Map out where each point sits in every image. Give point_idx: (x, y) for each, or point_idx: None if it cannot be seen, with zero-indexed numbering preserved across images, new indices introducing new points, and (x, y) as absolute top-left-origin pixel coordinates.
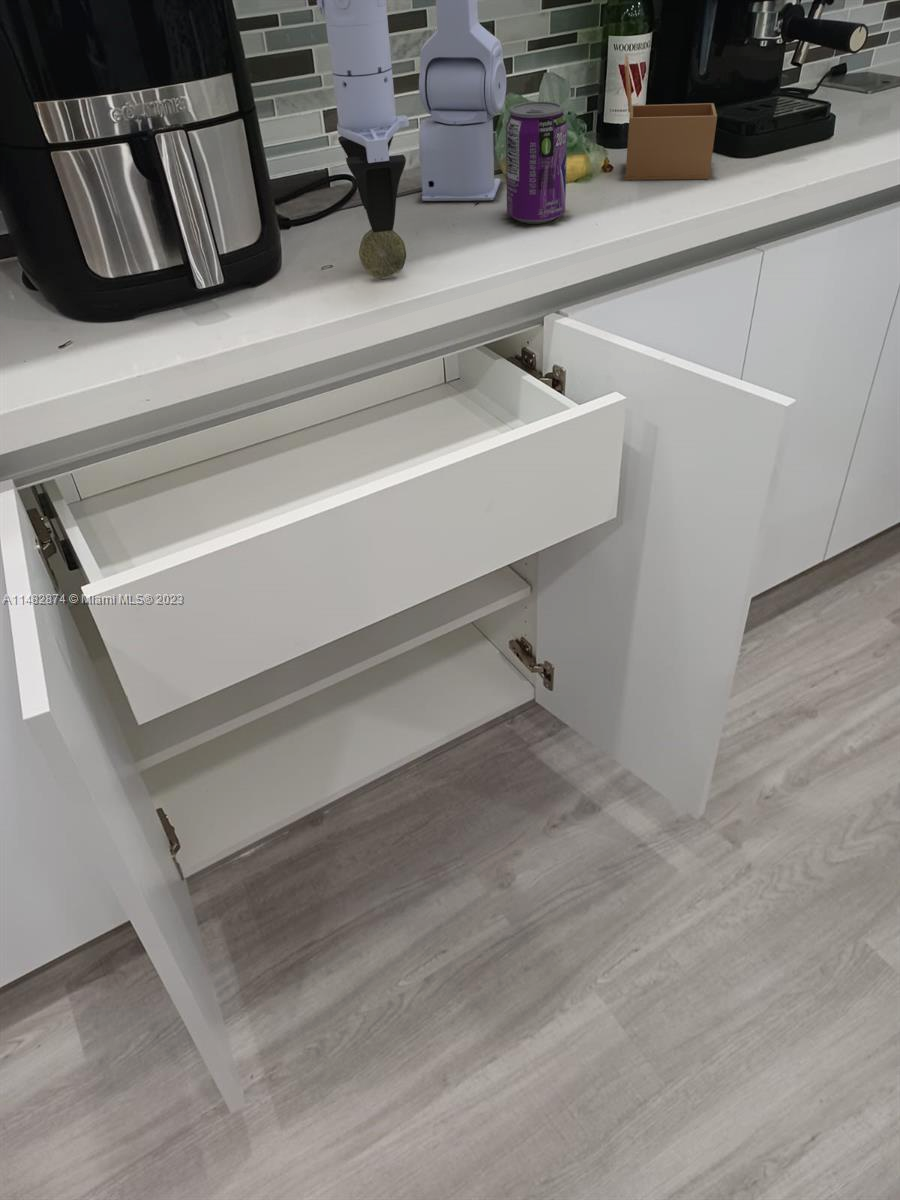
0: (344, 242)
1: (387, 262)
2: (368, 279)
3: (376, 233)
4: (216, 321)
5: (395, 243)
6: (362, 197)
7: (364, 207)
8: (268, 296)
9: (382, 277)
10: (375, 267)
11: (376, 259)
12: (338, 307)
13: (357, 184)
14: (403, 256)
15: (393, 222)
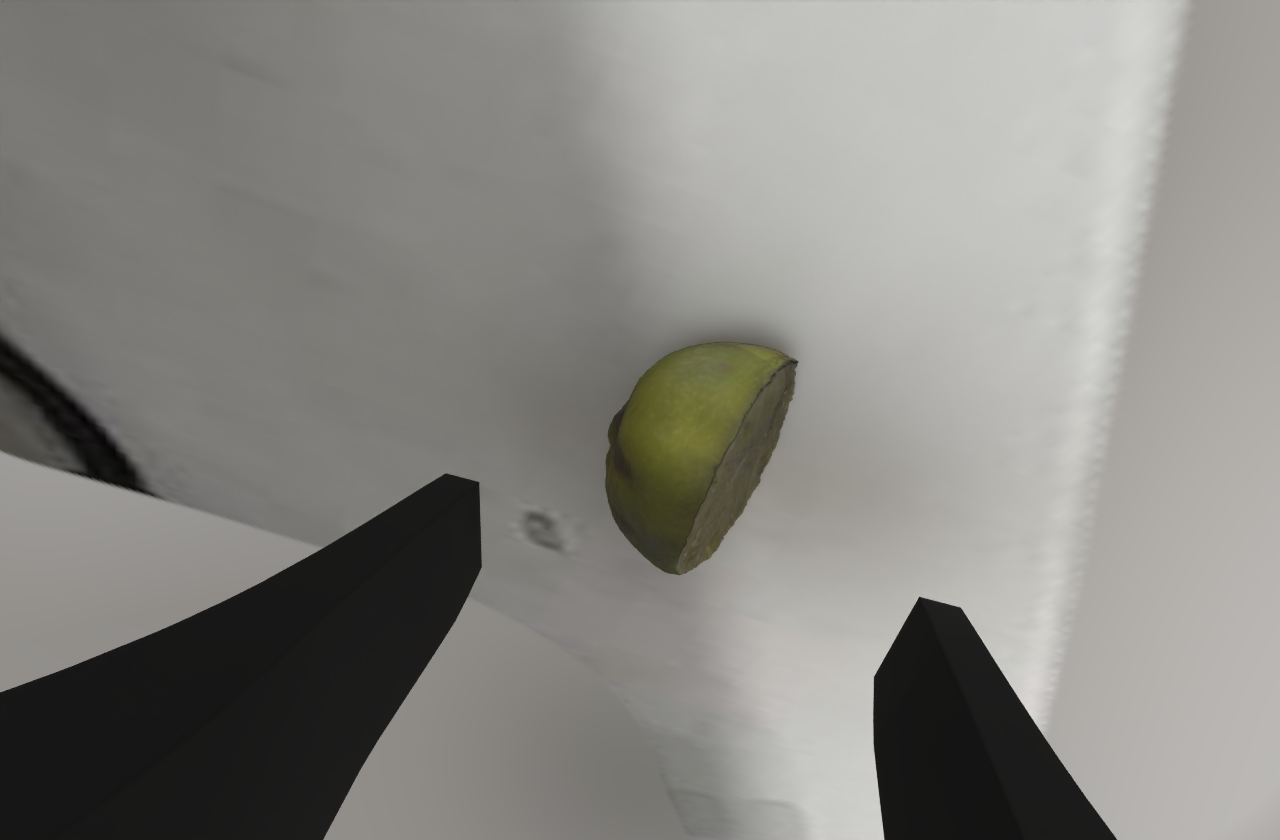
0: (310, 403)
1: (763, 435)
2: None
3: (692, 536)
4: (796, 825)
5: (742, 428)
6: (446, 625)
7: (474, 575)
8: (701, 713)
9: (778, 434)
10: (751, 473)
11: (736, 480)
12: None
13: (396, 706)
14: (784, 372)
15: (983, 645)
